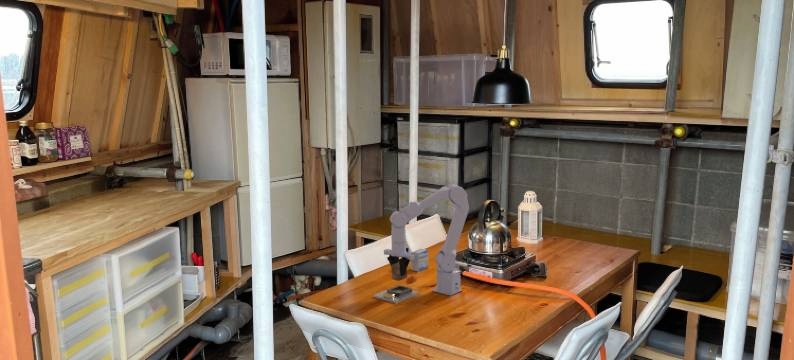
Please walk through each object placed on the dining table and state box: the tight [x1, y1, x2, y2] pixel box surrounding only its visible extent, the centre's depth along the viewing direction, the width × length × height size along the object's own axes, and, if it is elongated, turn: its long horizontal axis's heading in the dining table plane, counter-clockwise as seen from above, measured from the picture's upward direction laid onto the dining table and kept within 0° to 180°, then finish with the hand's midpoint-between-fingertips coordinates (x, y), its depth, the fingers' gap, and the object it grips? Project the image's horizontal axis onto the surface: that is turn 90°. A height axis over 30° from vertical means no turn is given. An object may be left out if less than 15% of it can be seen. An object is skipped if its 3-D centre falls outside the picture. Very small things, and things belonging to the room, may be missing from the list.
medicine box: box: [410, 248, 429, 273], centre depth 282 cm, size 8×4×9 cm, turn 143°
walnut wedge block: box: [391, 262, 408, 282], centre depth 246 cm, size 4×5×6 cm
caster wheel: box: [524, 260, 548, 278], centre depth 271 cm, size 7×11×10 cm
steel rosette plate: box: [373, 284, 420, 304], centre depth 246 cm, size 12×14×2 cm
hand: (399, 274), depth 246 cm, fingers closed on walnut wedge block, 4 cm apart
